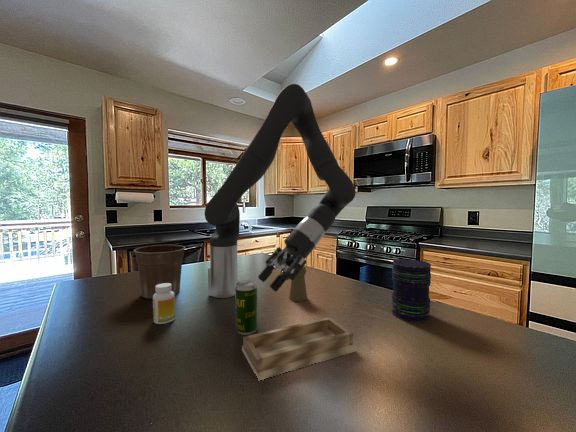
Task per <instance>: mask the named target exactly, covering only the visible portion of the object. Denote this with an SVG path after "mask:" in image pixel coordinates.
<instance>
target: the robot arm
mask: <svg viewBox="0 0 576 432" xmlns="http://www.w3.org/2000/svg"><path fill="white" fill-rule="evenodd" d="M290 123H292V125H293V126H294V127H295V130H296V131H298V134H299V135H300V137H301V140H302V141H303V142H302V143H303V145H304V147H305V151H306V154H307V157H308V160H309V163H310V164H311V167H312V168H313V170H314V173H315V174H316V176H317V178H318V179H319V180H320V181H323V182H325V183H326V185H327V186H328V190H327V191H326V192H325V194H324V195H323V196H322V197H321V199H320V201H319V202H318V203H317V204H316V205H314V207H313V208H312V209H311V210H310V211H309V212H308V213H307V215H306V216H305V217H304V218H303V219H302V220H301V221H300V222H299V223H298V224H297V225H296V226H295V228H293V230H292V231H291V232H290V233H289V234H288V236H287V237H286V238H285V239H284V244H285V247H284V248H281V247H280V246H277V248H276V249H275V250H274V251H273V252H272V253H271V255H270V256H269V257H268V258H267V259H266V260H265V262H264V263H265V264H266V265H265V268H263V270H262V271H261V272H260V274H259V275H258V277H257V278H258V279H259V280H260V281H261V282H262V283H264V282H266V281H267V280H268V278H269V277H270V276H271V275H272V274H273V272H274V271H276V270H277V269H280V273H279V274H278V275H277V276H276V277H275V278H274V279H273V281H272V282H271V283H270V284H269V288H270V289H272V290H273V292H275V293H277V292H278V291H279V289H281V287H282V286H283V285H284V283H285V282H286V281H289V280H290V281H291V280H294V279H295V277H296V276H297V275H298V273H299V272H300V270H301V269H302V268H303V266H304V267H305V265H306V264H307V260H306V259H308V256H309V255H310V254H311V253H312V252H313V251H314V249H315V248H316V246H317V245H318V244H319V243H320V241H322V238H324V235H325V234H326V232H327V231H328V230H329V229H330V228H331V226H332V225H333V224H334V222H335V221H336V218H337V216H338V215H339V214H340V213H341V212H342V210H343V209H345V207H346V206H348V205H349V204H350V203H351V202H353V200H354V199H355V196H356V187H355V184H354V183H353V181H352V179H351V177H350V176H348V174H346V172H345V170H344V169H343V168H341V166H340V165H339V163H338V161H337V158H336V157H335V155H334V153H333V151H332V149H331V147H330V145H329V144H328V142H327V140H326V139H325V137H324V135H323V133H322V131H321V129H320V125H319V123H318V122H317V118H316V115H315V111H314V108H313V104H312V101H311V98H310V97H309V95H308V94H307V92H306V91H305V90H304V88H303V87H302V86H301V85H299V84H297V83H291V84H288V85H286V86H285V87H284V88H282V89H281V91H279V93H278V95H277V96H276V98H275V101H274V102H273V104H272V106H271V108H270V110H269V112H268V114H267V115H266V118H265V119H264V121H263V122H262V124H261V126H260V127H259V129H258V131H257V132H256V134H255V135H254V136H253V138H252V140H251V141H250V143H249V144H248V145H247V147H246V149H245V150H244V151H243V153H241V156H240V157H239V159H238V161H237V162H236V164H235V166H234V167H233V169H232V170H231V172H230V173H229V175H228V176H227V178H226V180H225V181H224V183H222V185H221V186H220V188H219V189H218V190H217V192H215V194H214V195H213V196H212V197H211V198H210V200H209V201H208V202H207V204H206V206H205V208H204V218H205V220H206V222H207V223H208V224H209V225H210V226H214V227H215V230H214V232H213V234H212V235H211V236H210V238H209V263H210V264H209V265H210V266H209V267H208V268H207V284H208V285H207V288H208V289H207V294H208V296H209V297H213V298H215V299H216V298H217V299H227V298H231V297H235V288H236V283H237V282H239V281H238V278H239V277H238V276H239V275H238V272H239V271H238V270H239V269H238V266H239V265H238V239H239V236H240V226H241V222H240V221H241V220H240V218H241V217H240V215H241V214H240V207H239V205H238V201H239V200H240V198H242V196H243V195H244V194H245V193H246V192H248V191H249V189H251V188H252V187H253V186H254V185H255V184H257V183H258V182H259V181H260V180H261V179H262V178H263V176H264V175H265V174H266V172H267V171H268V170H269V168H270V167H271V165H272V163H273V162H274V161H275V160H274V159H276V158H275V157H276V156H277V155H276V154H277V151H278V149H279V143H280V140H281V137H282V135H283V134H284V132H285V130H286V129H287V127H288V126H289V124H290ZM294 270H295V272H294V273H293V271H294ZM292 273H293V274H292Z"/></svg>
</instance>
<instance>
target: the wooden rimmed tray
mask: <svg viewBox="0 0 576 432" xmlns="http://www.w3.org/2000/svg"><path fill="white" fill-rule="evenodd" d="M242 338H243V339H242V342H243V344H242V345H241V351H242V353H243V355H244V357H245V359H246V360H247V362H248V364H249V366H250V368H251V369H252V371H253V373H254V375H255V374H256V375H255V376H257V377H256V378H258V379H257V380H258V382H261V381H260V380H262V381H265V380H264V379H266V378H269V377H272V378H274V377H273V376H275V377H277V376H276V375H278V376H280V375H279V374H281V375H283V374H282V373H285V372H288V371H291V370H294V369H297V370H299V369H298V368H301V367H304V368H306V367H305V366H307V367H309V366H308V365H310V366H312V365H311V364H313V365H315V364H314V363H317V364H319V363H318V362H320V363H323V362H326V361H328V360H332V359H335V358H338V357H341V356H345V355H349V354H352V353H355V352H357V346H356V345H354V333H353V332H352V331H351V330H349V329H347V328H346V327H345V326H343V325H341V324H340V323H339V322H337V321H336V320H335V319H333V318H331V317H330V316H328V317H324V318H319V319H316V320H311V321H307V322H302V323H298V324H293V325H289V326H284V327H280V328H276V329H272V330H268V331H263V332H258V333H253V334H250V335H244V336H243V337H242ZM322 361H323V362H322ZM301 369H302V368H301ZM294 371H295V370H294ZM291 372H292V371H291ZM288 373H289V372H288ZM285 374H286V373H285ZM269 379H270V378H269ZM266 380H267V379H266Z"/></svg>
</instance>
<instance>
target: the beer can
mask: <svg viewBox="0 0 576 432" xmlns="http://www.w3.org/2000/svg"><path fill="white" fill-rule="evenodd" d="M234 298H235V301H234V302H235V330H236V332H237V334H239V335H242V336H249V335H254V334H256V332H257V329H258V285H257V282H256V280H255V281H254V280H240V281H238V282H237V283H236V288H235V296H234Z"/></svg>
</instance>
